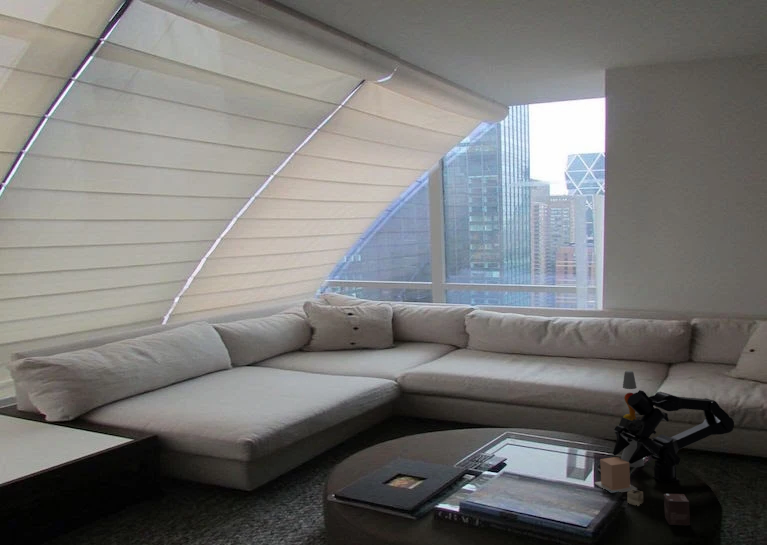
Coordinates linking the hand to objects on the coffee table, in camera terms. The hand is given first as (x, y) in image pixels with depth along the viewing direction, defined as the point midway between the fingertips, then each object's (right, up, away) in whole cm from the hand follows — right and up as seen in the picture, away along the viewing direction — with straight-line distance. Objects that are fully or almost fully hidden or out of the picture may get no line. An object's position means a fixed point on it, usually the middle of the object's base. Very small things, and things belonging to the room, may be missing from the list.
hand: (621, 458), depth 226 cm
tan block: (-2, -9, 0) cm, 9 cm away
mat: (-2, -10, 0) cm, 10 cm away
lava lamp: (+12, -8, +22) cm, 26 cm away
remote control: (0, -9, +11) cm, 14 cm away
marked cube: (-1, -10, -14) cm, 18 cm away
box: (+6, -11, -29) cm, 32 cm away
